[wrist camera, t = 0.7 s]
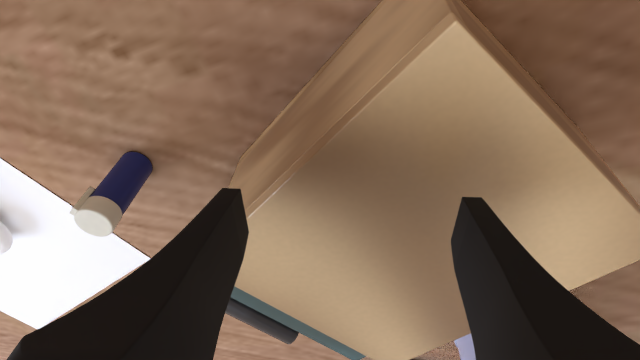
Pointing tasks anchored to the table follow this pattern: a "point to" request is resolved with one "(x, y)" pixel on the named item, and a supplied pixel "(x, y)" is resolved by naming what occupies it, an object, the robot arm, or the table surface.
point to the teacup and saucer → (5, 239)
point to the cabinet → (418, 182)
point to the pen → (112, 195)
